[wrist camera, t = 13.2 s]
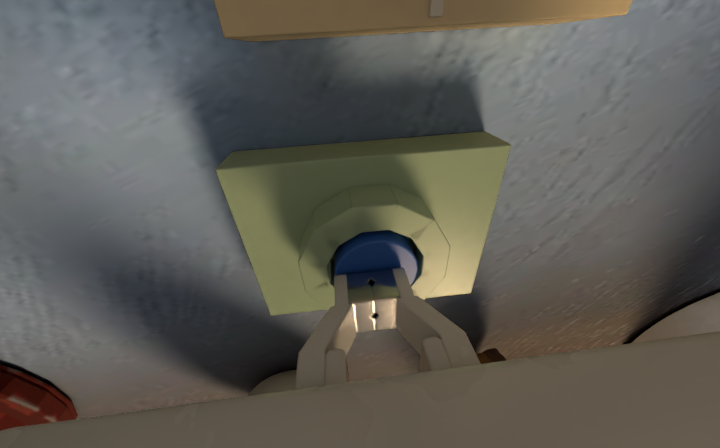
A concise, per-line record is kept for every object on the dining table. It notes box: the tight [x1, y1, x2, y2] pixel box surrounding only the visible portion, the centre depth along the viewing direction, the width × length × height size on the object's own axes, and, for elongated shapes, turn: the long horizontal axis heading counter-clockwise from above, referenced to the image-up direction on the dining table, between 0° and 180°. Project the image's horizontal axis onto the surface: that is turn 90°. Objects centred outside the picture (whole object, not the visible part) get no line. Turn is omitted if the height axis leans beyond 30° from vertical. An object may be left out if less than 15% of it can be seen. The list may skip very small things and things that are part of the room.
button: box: [334, 230, 418, 285], centre depth 12 cm, size 4×4×2 cm
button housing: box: [215, 131, 511, 315], centre depth 13 cm, size 12×9×4 cm
